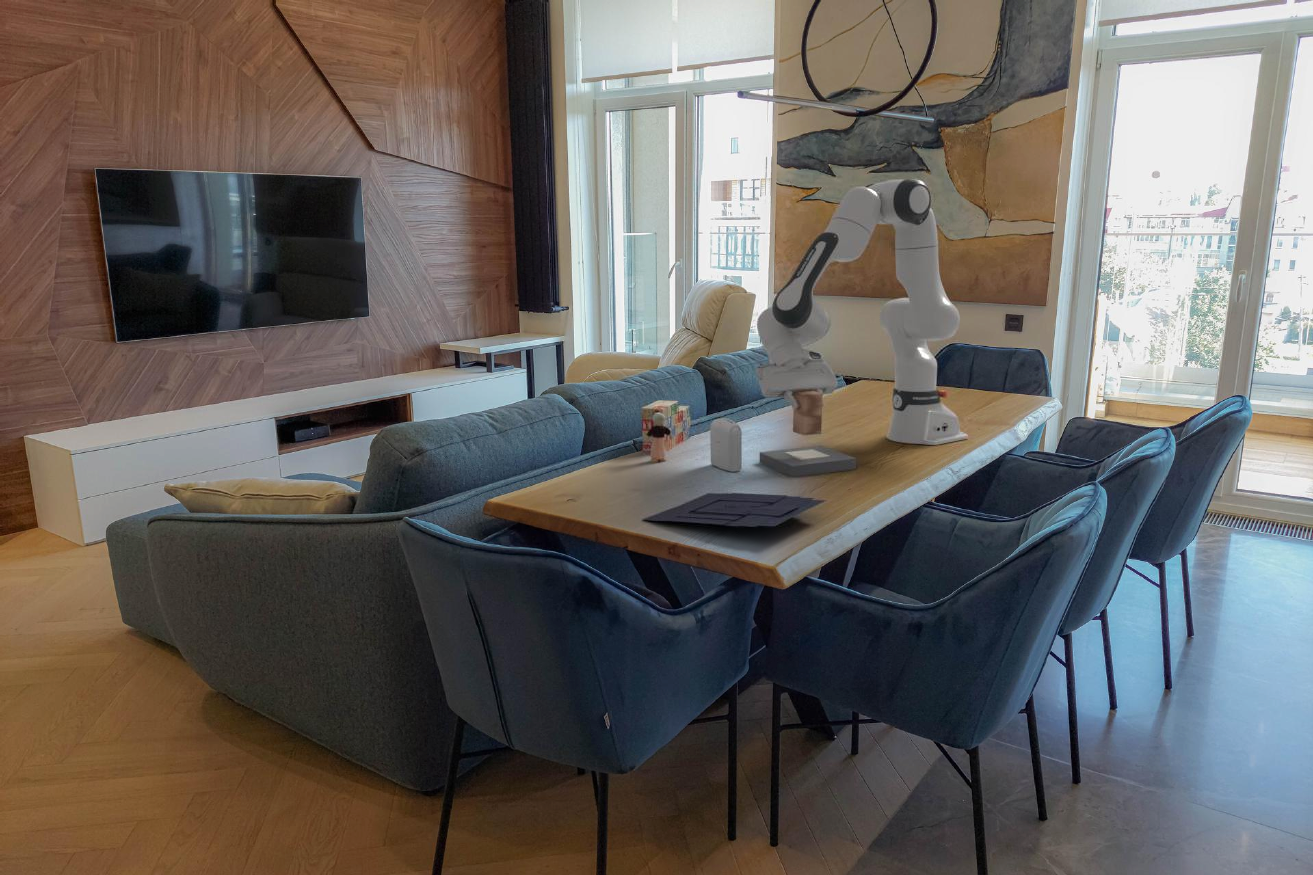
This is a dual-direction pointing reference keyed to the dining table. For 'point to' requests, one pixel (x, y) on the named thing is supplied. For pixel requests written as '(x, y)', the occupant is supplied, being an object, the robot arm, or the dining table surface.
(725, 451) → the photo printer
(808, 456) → the base plate
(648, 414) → the stack of blocks
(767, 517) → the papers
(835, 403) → the dining table surface
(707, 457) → the dining table surface
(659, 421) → the grandmother figurine
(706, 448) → the dining table surface
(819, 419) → the terracotta block
